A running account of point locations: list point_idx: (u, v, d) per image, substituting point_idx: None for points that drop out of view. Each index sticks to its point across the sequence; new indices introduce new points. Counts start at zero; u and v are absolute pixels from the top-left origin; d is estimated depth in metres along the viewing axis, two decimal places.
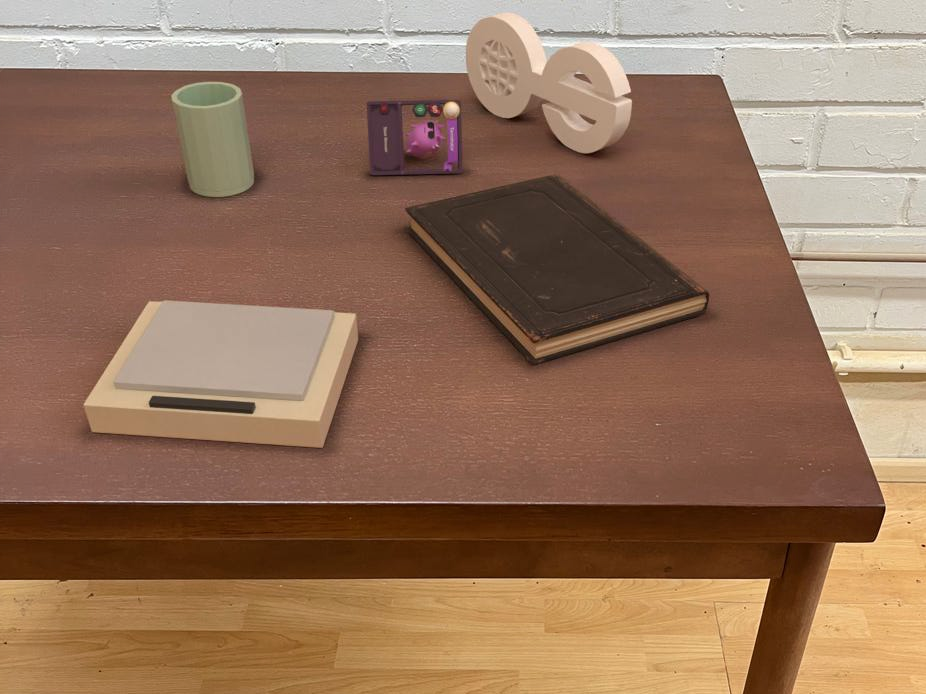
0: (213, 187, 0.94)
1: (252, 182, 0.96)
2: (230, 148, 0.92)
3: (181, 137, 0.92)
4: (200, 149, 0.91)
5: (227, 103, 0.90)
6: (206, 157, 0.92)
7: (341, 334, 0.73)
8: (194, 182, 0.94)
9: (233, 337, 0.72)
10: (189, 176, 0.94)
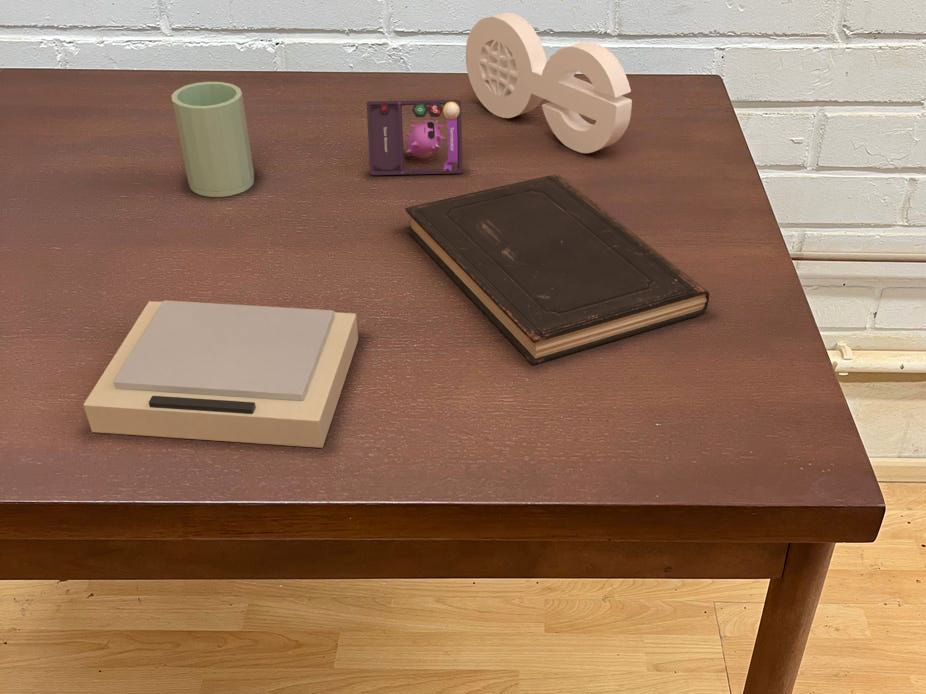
0: (213, 187, 0.94)
1: (252, 182, 0.96)
2: (230, 148, 0.92)
3: (181, 137, 0.92)
4: (200, 149, 0.91)
5: (227, 103, 0.90)
6: (206, 157, 0.92)
7: (341, 334, 0.73)
8: (194, 182, 0.94)
9: (233, 337, 0.72)
10: (189, 176, 0.94)
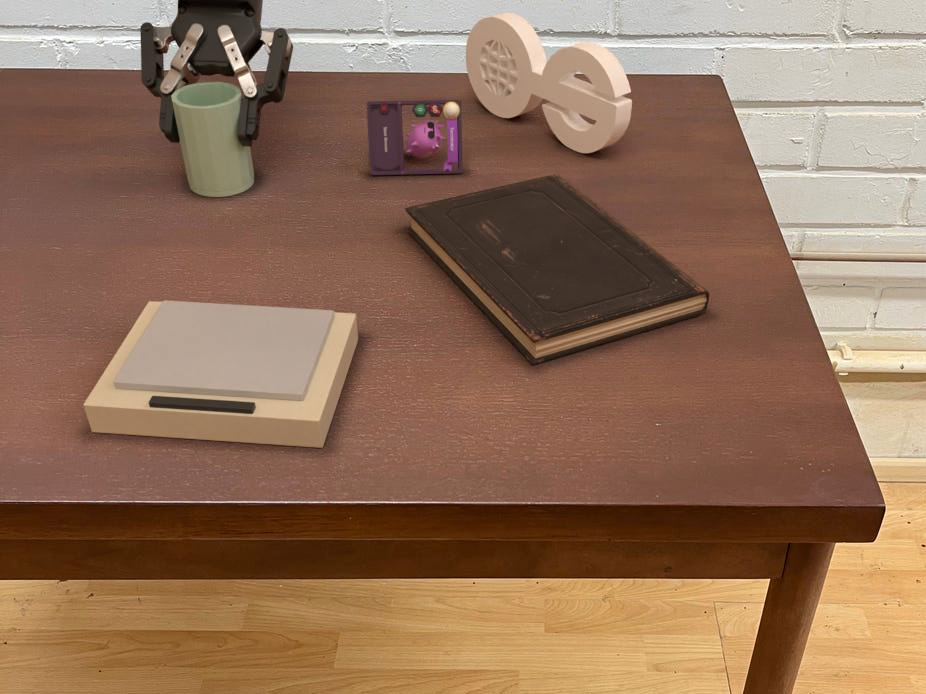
0: (213, 187, 0.94)
1: (252, 182, 0.96)
2: (230, 148, 0.92)
3: (181, 137, 0.92)
4: (200, 149, 0.91)
5: (227, 103, 0.90)
6: (206, 157, 0.92)
7: (341, 334, 0.73)
8: (194, 182, 0.94)
9: (233, 337, 0.72)
10: (189, 176, 0.94)
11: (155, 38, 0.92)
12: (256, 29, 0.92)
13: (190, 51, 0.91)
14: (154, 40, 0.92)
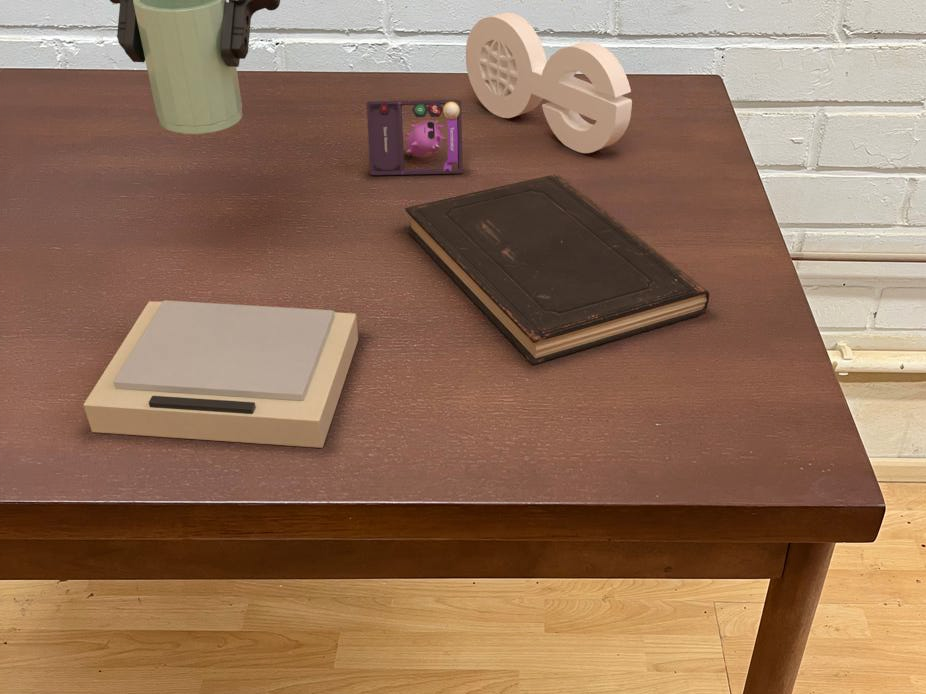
0: (189, 120, 0.72)
1: (240, 116, 0.75)
2: (211, 68, 0.70)
3: (146, 53, 0.70)
4: (171, 68, 0.70)
5: (206, 6, 0.68)
6: (180, 79, 0.70)
7: (341, 334, 0.73)
8: (164, 114, 0.72)
9: (233, 337, 0.72)
10: (158, 107, 0.73)
11: None
12: None
13: None
14: None
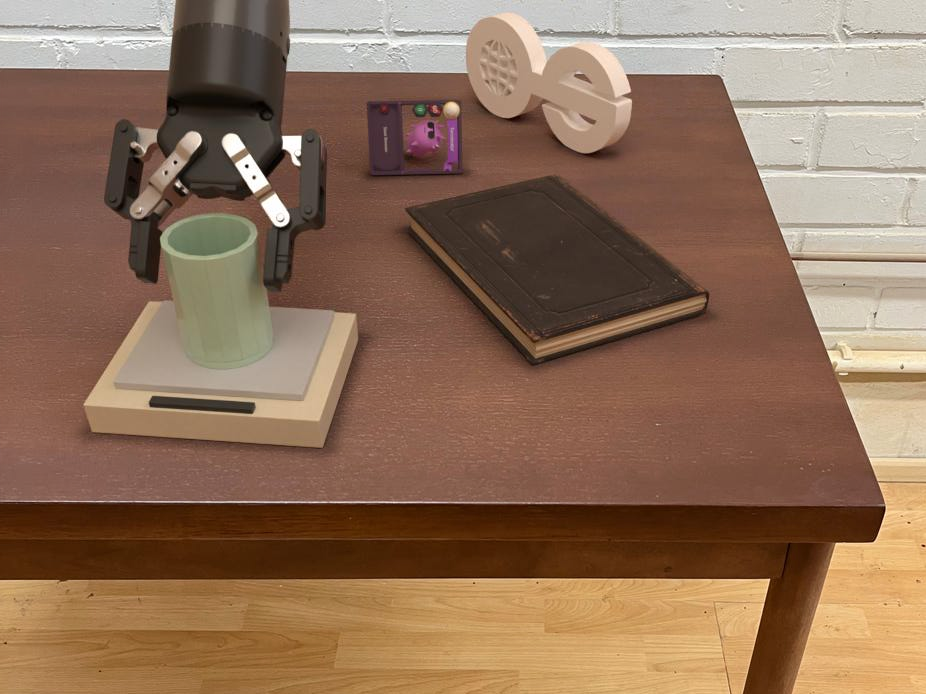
0: (218, 357, 0.68)
1: (271, 344, 0.71)
2: (242, 308, 0.66)
3: (174, 293, 0.66)
4: (200, 311, 0.66)
5: (238, 251, 0.64)
6: (209, 321, 0.66)
7: (341, 334, 0.73)
8: (192, 349, 0.69)
9: None
10: (185, 341, 0.69)
11: (133, 144, 0.66)
12: (275, 136, 0.66)
13: (179, 168, 0.65)
14: (131, 146, 0.66)
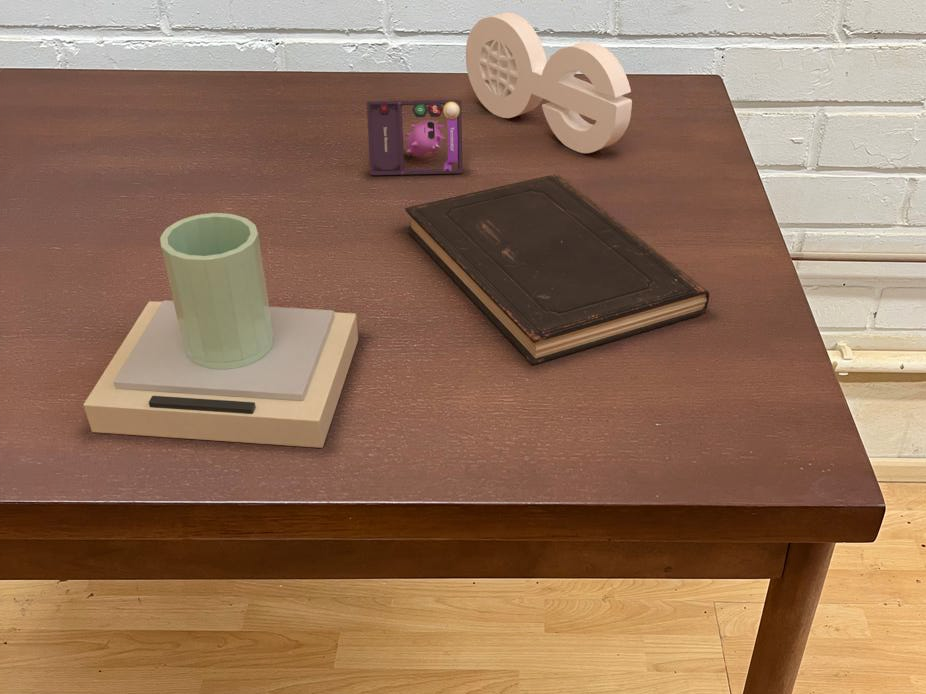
0: (218, 357, 0.68)
1: (271, 344, 0.71)
2: (242, 308, 0.66)
3: (174, 293, 0.66)
4: (200, 311, 0.66)
5: (238, 251, 0.64)
6: (209, 321, 0.66)
7: (341, 334, 0.73)
8: (192, 349, 0.69)
9: None
10: (185, 341, 0.69)
11: None
12: None
13: None
14: None
